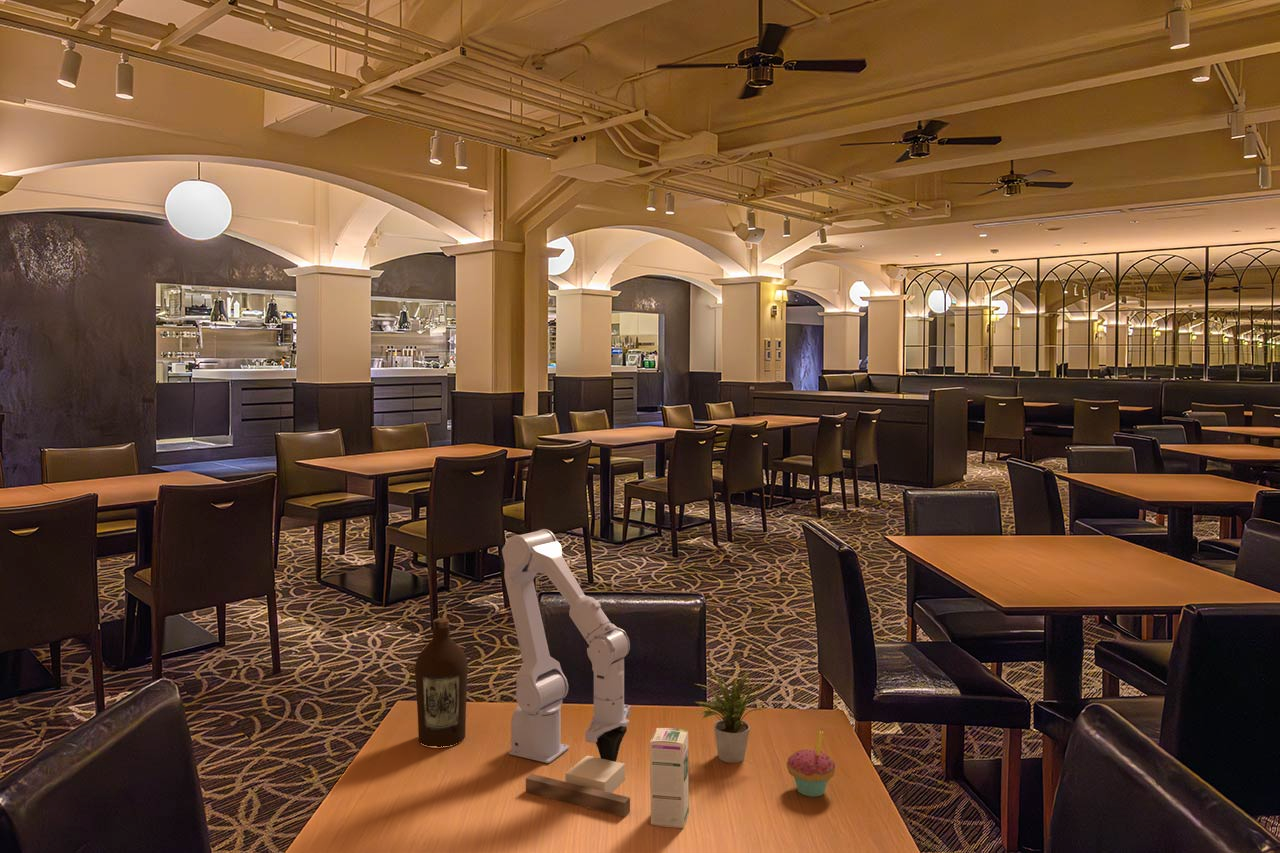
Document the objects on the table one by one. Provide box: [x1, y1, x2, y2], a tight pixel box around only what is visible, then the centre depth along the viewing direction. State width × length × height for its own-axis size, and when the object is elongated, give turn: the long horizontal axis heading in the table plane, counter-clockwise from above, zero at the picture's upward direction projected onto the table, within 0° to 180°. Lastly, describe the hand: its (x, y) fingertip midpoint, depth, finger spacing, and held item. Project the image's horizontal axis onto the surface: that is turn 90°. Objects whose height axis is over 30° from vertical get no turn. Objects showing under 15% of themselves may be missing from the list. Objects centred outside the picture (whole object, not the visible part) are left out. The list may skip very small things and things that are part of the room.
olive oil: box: [414, 617, 469, 747], centre depth 171 cm, size 11×11×25 cm
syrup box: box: [649, 727, 690, 829], centre depth 140 cm, size 6×6×14 cm
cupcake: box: [786, 727, 836, 798], centre depth 149 cm, size 9×8×12 cm
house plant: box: [695, 671, 765, 764], centre depth 164 cm, size 14×14×16 cm
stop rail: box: [525, 773, 631, 818], centre depth 146 cm, size 20×2×2 cm, turn 64°
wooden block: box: [565, 755, 626, 793], centre depth 152 cm, size 8×8×4 cm
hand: (608, 765), depth 156 cm, fingers closed
